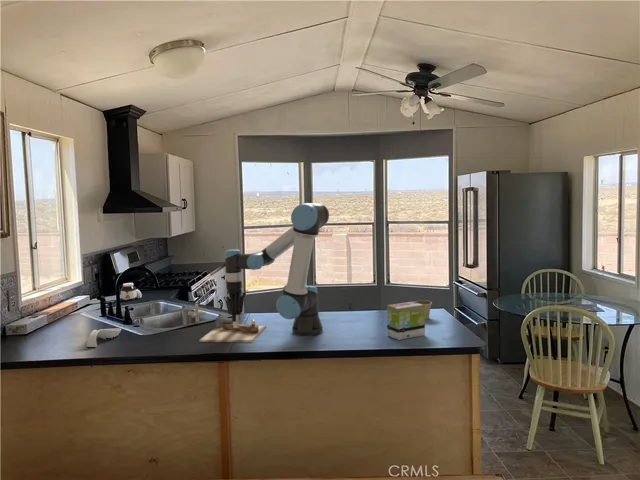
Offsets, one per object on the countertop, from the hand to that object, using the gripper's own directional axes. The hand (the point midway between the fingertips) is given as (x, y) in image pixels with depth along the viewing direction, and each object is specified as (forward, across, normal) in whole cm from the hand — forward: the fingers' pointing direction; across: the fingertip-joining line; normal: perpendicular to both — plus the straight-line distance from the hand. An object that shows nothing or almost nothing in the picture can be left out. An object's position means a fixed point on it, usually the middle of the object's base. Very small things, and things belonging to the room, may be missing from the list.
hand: (236, 327), depth 236 cm
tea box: (+3, -36, +75) cm, 83 cm away
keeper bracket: (+2, -3, -11) cm, 11 cm away
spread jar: (+3, -29, -133) cm, 136 cm away
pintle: (-1, -3, +9) cm, 9 cm away
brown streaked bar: (+2, -2, 0) cm, 3 cm away
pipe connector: (+3, -6, -36) cm, 37 cm away
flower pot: (+3, -68, +70) cm, 98 cm away
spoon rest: (+4, +40, -51) cm, 65 cm away
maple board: (+3, +2, 0) cm, 3 cm away
